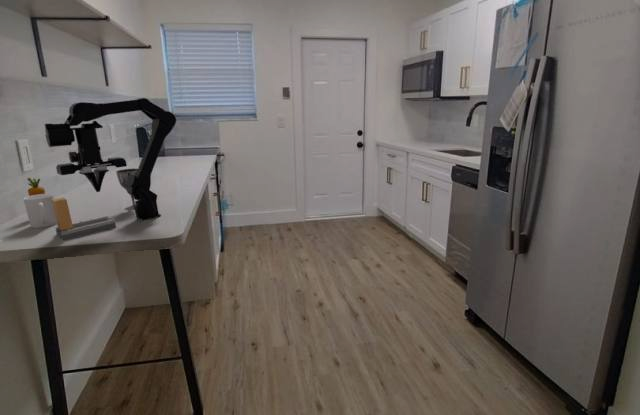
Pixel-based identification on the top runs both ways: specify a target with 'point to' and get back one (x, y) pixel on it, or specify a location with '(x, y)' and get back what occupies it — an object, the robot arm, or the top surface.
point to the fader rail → (87, 227)
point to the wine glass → (122, 179)
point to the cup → (40, 210)
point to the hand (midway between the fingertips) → (98, 191)
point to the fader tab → (62, 214)
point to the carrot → (35, 187)
